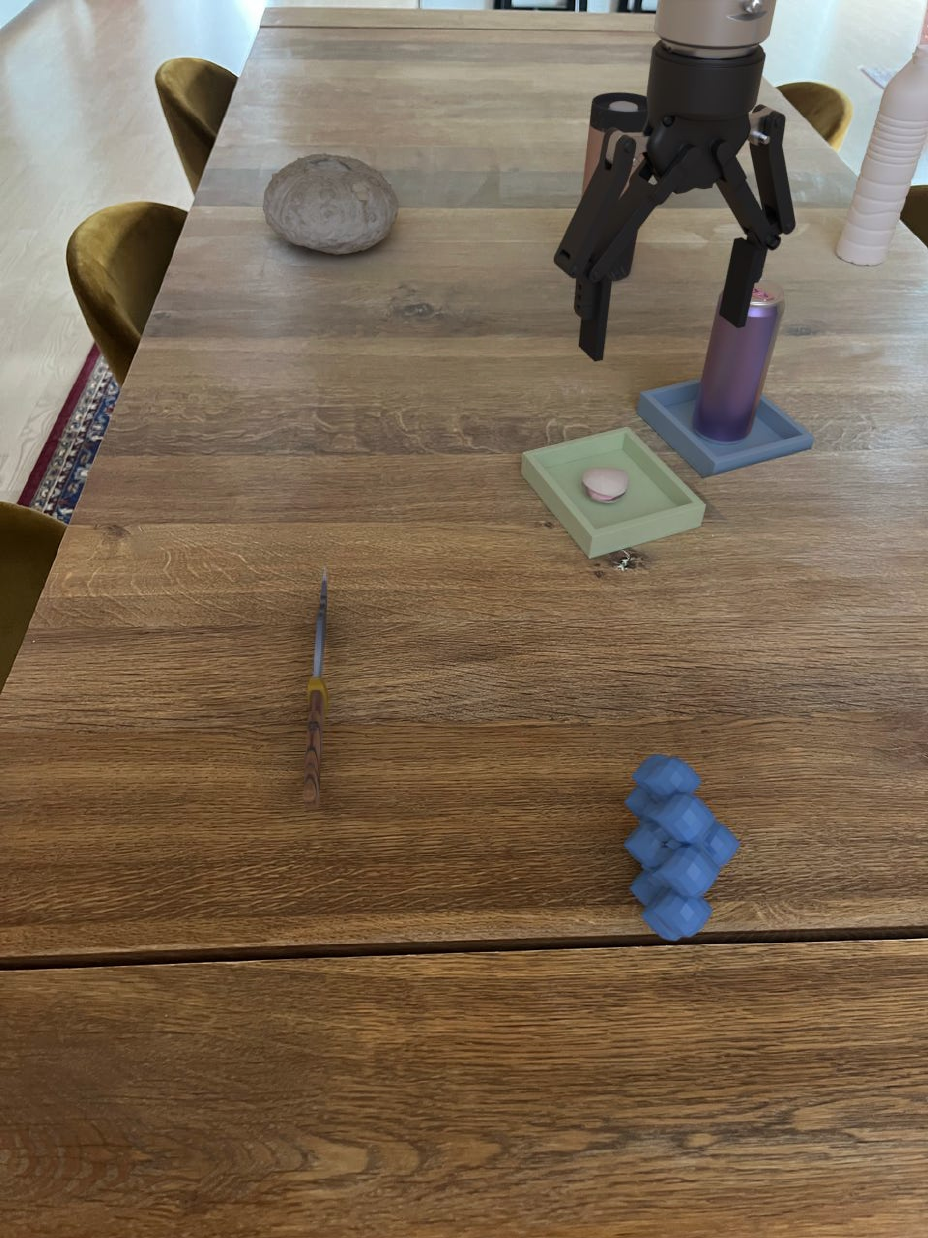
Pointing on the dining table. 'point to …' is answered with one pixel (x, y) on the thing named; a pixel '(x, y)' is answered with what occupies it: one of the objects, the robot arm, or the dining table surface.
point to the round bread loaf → (330, 204)
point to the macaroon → (605, 484)
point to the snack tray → (636, 518)
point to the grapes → (675, 847)
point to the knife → (316, 709)
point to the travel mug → (605, 113)
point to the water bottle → (888, 165)
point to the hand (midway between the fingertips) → (662, 336)
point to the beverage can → (738, 367)
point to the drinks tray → (673, 423)
